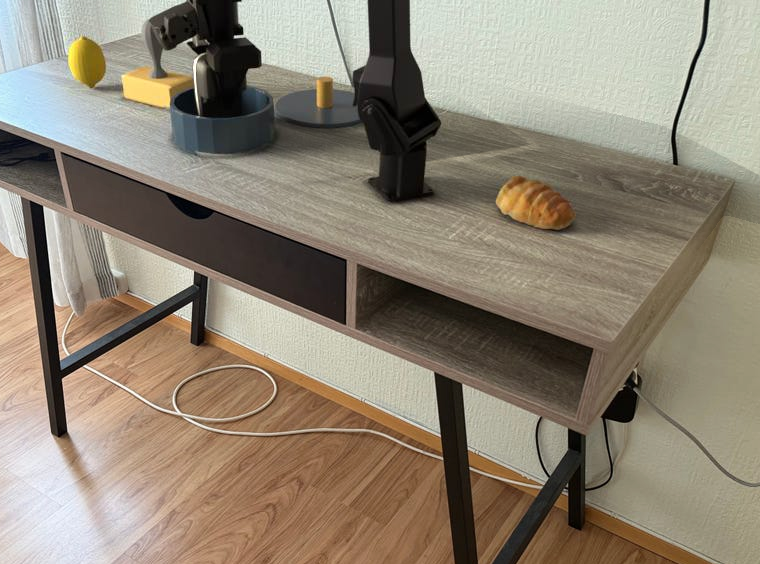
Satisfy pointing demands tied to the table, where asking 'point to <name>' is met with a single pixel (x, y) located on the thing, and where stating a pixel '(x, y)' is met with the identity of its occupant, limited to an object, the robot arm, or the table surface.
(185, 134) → the tin
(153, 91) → the rubber stamp
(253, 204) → the table surface
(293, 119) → the tin lid
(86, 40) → the lemon
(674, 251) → the table surface
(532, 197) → the pastry
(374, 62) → the robot arm
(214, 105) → the battery charger
